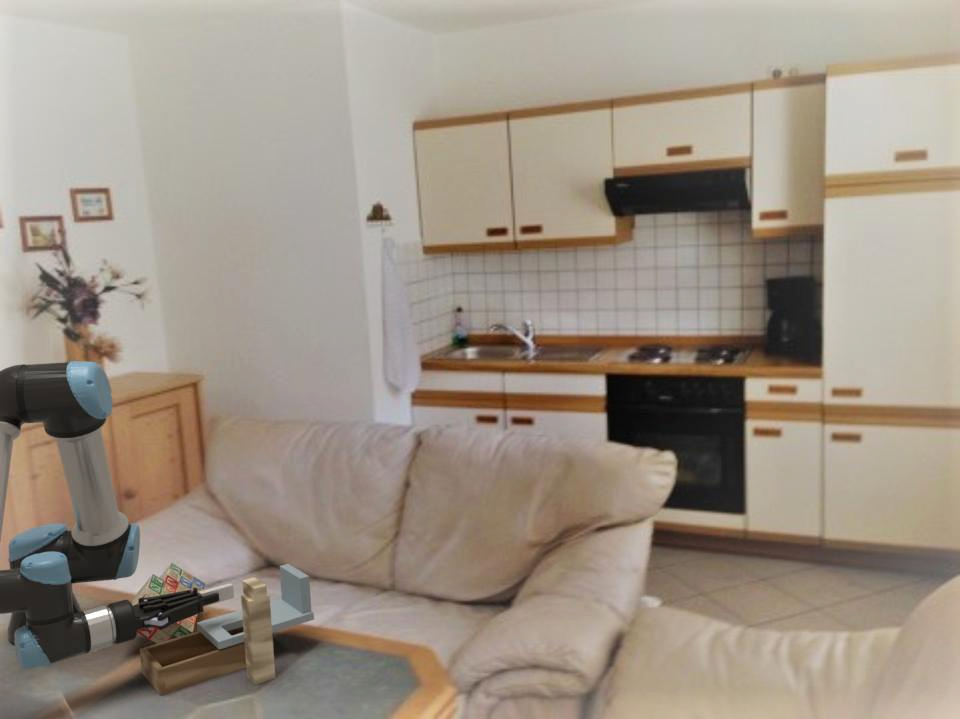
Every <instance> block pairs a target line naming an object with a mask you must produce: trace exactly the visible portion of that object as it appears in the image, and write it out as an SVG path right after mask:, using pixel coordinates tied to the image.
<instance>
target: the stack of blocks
mask: <svg viewBox="0 0 960 719" xmlns="http://www.w3.org/2000/svg"><path fill="white" fill-rule="evenodd" d="M205 585H206V584H205V582H203V581H202V580H200V579H199V578H197V577H196V576H194V575H193V574H191V573H190V572H188V571H187V570H185V569H182V568H181V567H179V566H178V565H176V564H174V563H172V562H171V563H170V564H169V565H168V566H167V567H166V568H165V570H164V571H163V572H162V574H161V575H160V576H159V577H158V576H157V575H155V574H154V573H153V574H151V575H150V577H149V578H148V579H147V581H146V582H145V583H144V584H143V585H142V586H141V587H140V589H139V590H138V591H137V592H136V594H135V596H134V598H133V601H132V602H131V604H132V606H133V605H136V604H139V602H138V599H139V598H146V597H154V596H160V595H165V594H170V593H175V592H181V591H186V590H191V592H193V588H197V591H198V593H199V592H200V591H203V590H205ZM197 617H198V614H196V615H194V616H191V617H189V618H186V619H184V620H181V621H179V622H176V623H174V624H171V625H169V626H168V627H166V628H165V629H162V630H159V629H158V625H155V626H154V627H150V628H142V629H139V630H138V631H137V634H139V635H140V636H142V637H144V638H145V639H147V640H149V641H151V642H153V643H155V644H158V643H161V642H165V641H168V640H171V639H175V638H178V637H181V636H185V635H188V634H191V633H194V628H195V625H196V623H197V622H196V620H197Z"/></svg>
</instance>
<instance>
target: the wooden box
mask: <svg viewBox="0 0 960 719" xmlns="http://www.w3.org/2000/svg"><path fill="white" fill-rule="evenodd" d="M227 632H228V633H229V634H230V635H231V636H233V635H236V634H239V633H242V632H244V629H243V627H240V628H237V629H233V630H230V631H227ZM139 657H140V667H141V673H142V674H143V676H144V677H145V678H146V680H147V681H148V682H149V683H150V685H152V687H153V688H154V690H156V692H157V693H158V694H159V696H161V697H162V696H164V695H167V694H171V693H173V692H176V691H179V690H183V689H185V688H189V687H191V686H194V685H197V684H201V683H203V682H207V681H209V680H213V679H215V678H218V677H221V676H224V675H227V674H230V673H232V672H233V673H234V672H236V671H239V670H242V669H245V668H246V656H245V643H244V642H242V643H238V644H235V645H232V646H229V647H226V648H223V649H218V648H217V647H216V646H215V645H214V644H213V643H211V642H210V641H209V640H208V639H207V638H206V637H205V636H204V635H203V634H202V633H201V632H200V631H198V630H197V631H194V632H193V633H191V634H188V635H185V636H181V637H178V638H175V639H171V640H168V641H165V642H161V643H158V644H156V643H155V644H151V645H148V646H144V647H142V648H139Z"/></svg>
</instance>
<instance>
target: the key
mask: <svg viewBox="0 0 960 719" xmlns="http://www.w3.org/2000/svg"><path fill="white" fill-rule="evenodd" d="M241 581H242V593H243V594H242V595H240V599H241V600H240V602H241V610H242V616H243V629H244V643H245V656H246V667H245V668H246V669H245V670H246V678H248V679H249V681H251V682H252V683H253V684H254V685H259V684H261V683H264V682H267V681H270V680H273V679H276V668H275V667H276V666H275V654H274V653H275V652H274V640H273V639H274V638H273V633H272V623H271V609H270V601H271V597H270V595H269V594H268V592H267V591H268V590H267V587H268V586H267V585H266V584H265V583H263V581H260V580H259V579H258V578H256V577H250V578H246V579H242V580H241Z"/></svg>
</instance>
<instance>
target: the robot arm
mask: <svg viewBox="0 0 960 719" xmlns="http://www.w3.org/2000/svg"><path fill="white" fill-rule="evenodd" d="M112 411H113V397H112V388H111V384H110V380H109V377H108V375H107V373H106V372H105V369H103V367H102V366H101V365H100V364H98V363H96V362H94V361H78V360H71V361H67V362H66V361H65V362H50V363H49V362H48V363H34V364H15V365H11V366H9V367H6V368H3V369H1V370H0V542H1V539H2V531H3V524H4V517H5V516H4V515H5V510H6V509H5V508H6V501H7V500H6V499H7V492H8V484H9V478H10V471H11V470H10V469H11V462H12V454H13V446H14V441H15V440H16V439H18V438H19V437H20V435H21V431H22V430H21V428H22V425H25V424H35V423H36V424H38V423H42V424H43V428H44V432H45V434H46V435H47V436H49V437H50V438H53V439H55V442H56V445H57V450H58V453H59V457H60V462H61V466H62V470H63V474H64V477H65V481H66V485H67V489H68V493H69V498H70V502H71V506H72V511H73V514H74V517H75V523H74V525H73V527H72V529H71V530H68V527H67V525H66V524H65V523H61V522H60V523H59V522H54V523H48V524H43V525H39V526H36V527H33V528H29V529H27V530H25V531H23V532H20V533H18V534H17V535H15V536H13V537H12V538H11V540H10V541H9V543H8V563H9V569H1V570H0V615H1V614H2V615H3V614H5V615H6V614H11V615H10V618H9V622H8V623H9V624H8V627H7V635H8V636H7V637H8V641H9V643H10V644H13V645H14V649H15V650H14V651H15V655H16V658H17V662H18V664H19V666H20V668H22V669H23V670H33V669H36V668H40V667H45V666H51V665H53V664H56V663H59V662H62V661H64V660H69V659H72V658H75V657H78V656H81V655H84V654H88V653H91V652H93V653H98V652H99V650H100V649H102V650H103V649H105V648H108V647H111V646H112V645H113V644H115V645H120V644H123V643H126V642H130V641H133V640H134V639H135V638H136V637H137V634H138V633H137V631H138V630H139V629H142V628H150V627H154V626H155V625H158V629H159V630H162V629H165V628H166V627H168V626H169V625H171V624H174V623H176V622H179V621H181V620H184V619H186V618H189V617H191V616H194V615H196V614H197V615H199V614H201V613H204V607H207V606H211V605H214V604H219V603H221V602H224V601H228V600H231V599H234V598H235V593H234V584H232V583H231V582H230V583H226V584H222V585H219V586H218V585H217V586H215V587H211V588H208V589H204V590H203V591H200V592H199V593H198V591H197V588H193V592H191V590H186V591H181V592H175V593H170V594H165V595H160V596H154V597H146V598H139V599H138V602H139V604H136V605H133V606H132V602H131V601H130V600H129V599H122V600H120V601H119V600H118V601H115V602H111V603H109V604H108V605H107V606H106V605H99V606H95V607H92V608H88V609H85V610H83V609H82V608H81V606H80V603H79V602H78V600H77V597H76V596H75V594H74V591H73V590H74V589H73V584H82V583H83V584H84V583H92V582H101V581H115V580H119V579H123V578H124V579H125V578H129V577H132V576H133V575H134V574H135V573H136V571H137V568H138V562H139V556H140V545H141V531H140V527H139V526H140V525H138V524H134V523H131V524H130V522H129V519H128V517H127V515H126V514H125V513H124V512H121V511H119V508H118V507H119V506H118V503H117V499H116V493H115V490H114V489H115V488H114V485H113V480H112V475H111V470H110V465H109V460H108V456H107V451H106V446H105V441H104V438H103V432H102V428H103V427H104V425H106V423H107V418H108V417H109V416H110V415H111V414H112Z"/></svg>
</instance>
